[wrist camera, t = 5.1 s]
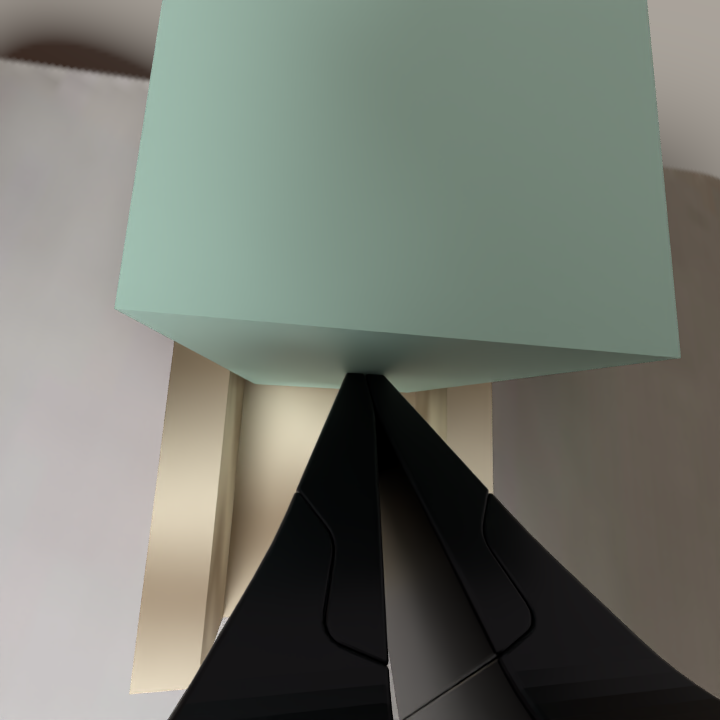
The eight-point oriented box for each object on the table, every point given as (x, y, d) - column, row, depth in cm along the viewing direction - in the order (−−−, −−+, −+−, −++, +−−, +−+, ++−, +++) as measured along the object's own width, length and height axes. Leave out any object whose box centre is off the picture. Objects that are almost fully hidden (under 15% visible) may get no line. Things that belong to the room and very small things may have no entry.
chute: (440, 590, 14) (495, 660, 10) (182, 603, 12) (129, 694, 8) (443, 212, 17) (489, 152, 13) (229, 179, 15) (205, 98, 11)
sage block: (408, 392, 14) (681, 358, 4) (255, 384, 13) (114, 309, 3) (411, 253, 15) (642, -56, 5) (268, 234, 14) (194, -207, 4)
